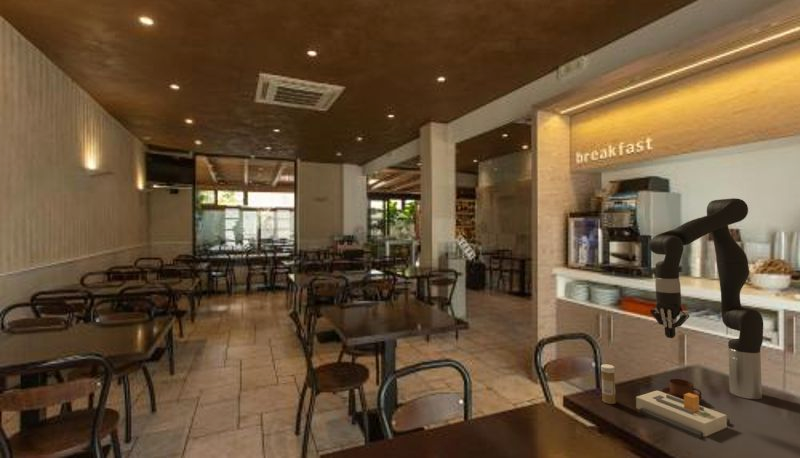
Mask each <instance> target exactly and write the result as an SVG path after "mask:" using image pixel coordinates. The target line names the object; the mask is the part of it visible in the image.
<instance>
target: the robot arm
mask: <svg viewBox="0 0 800 458" xmlns="http://www.w3.org/2000/svg"><path fill="white" fill-rule="evenodd" d="M748 214H749V207H748V204H747V203H746V202H745V201H744V199H741V198H736V197H735V198H732V197H731V198H724V199H723V198H722V199H721V198H720V199H713V200H711V201H709V203H708V204H707V207H706V215H704V216H701V217H697V218H695V219H692V220H688V221H687V222H684V223H682V224H681V225H679V226H677V227H676V228H673V229H671V230H668V231H665V232H661V233H658V234H657V235H655V236H654V237H652V238H651V239H650V240H649V243H648V244H649V245H648V247H649V250H650V251H651V252H652V253H653V254H656V255H665V256H664V258H663V260H662V261H661V260H660V261H657V262H656V263H655V302H656V304H655V308H653V309H650V310H649V312H650V313H651V315H652V317H654V319H655V320H656V322H657V323H658V324H659V325H661V326H663V327H664V335H665V336H666V338H669V339H674V338H675V337H676V328H679V327H681V326H683V324H684V323H685V322H686V321H688V319H690V314H688V313H685V312H684V311H683V308H682V306H681V305H682V293H681V292H682V291H681V288H682V287H681V283H680V282H681V281H680V268H679V266H680V263H681V259H682V256H683V252H684V246H688V245H689V244H692V243H694V242H695V241H697V240H699V239H701V238H702V237H704V236H706V235H708V234H710V233H711V237H712V241H713V247H714V251H715V259H716V268H717V274H718V279H719V280H718V281H719V286H720V287H719V289H720V299H721V300H720V301H721V303H720V307H721V308H720V309H721V313H720V314H721V320H722V322H723V324H724V326H725V327H727V328H728V329H730V330H734V331H738V332H739V336H738V338H731V339H729V340H728V341H727V342H728V372H729V374H728V376H729V378H728V379H729V380H728V382H729V393H731V394H732V395H734V396H737V397H738V398H739V397H740V398H743V399H748V400H760V399H762V398H763V397H762V395H763V391H762V387H763V386H762V362H761V361H762V360H761V359H762V357H761V356H762V355H761V347H762V345H763V341H764V317H763V316H762V314H761V313H760V312H759V311H758V310H756V309H753V308H749V307H743V306H742V304H741V291H742V289H743V287H744V285H745V284H746V282H747V280H748V278H749V275H750V266H749V261H748V260H749V259H748V256H747V254H746V252H745V251H744V250H743V248H742V247H741V246H740V245H739V243H738V242H737V241H736V240H735V238H734V237H733V236H732V234H731V231H730V229H729V225H730V226H731V225H733V224H737V223H739V222H741V221H743V220H744V219H746V218H747V216H748ZM678 317H679V318H678Z"/></svg>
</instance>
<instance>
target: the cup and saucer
mask: <svg viewBox="0 0 800 458" xmlns="http://www.w3.org/2000/svg"><path fill="white" fill-rule="evenodd" d="M696 391H697V392H698V393H697V392H696ZM662 392H663V393H666V394H669V395H672V396H674V397H677V398H680V399H683V400H684V394H687V393H691V394H694V395H697V396H699V402H700V401H702V399H703V398H702V395H703V394H702V391H701V390H700V389H699V388H697V387H694V383H693V382H692V381H689V380H686V379H679V378H672V379H670V380H669V386H668V387H664V388H663V389H662Z"/></svg>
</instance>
